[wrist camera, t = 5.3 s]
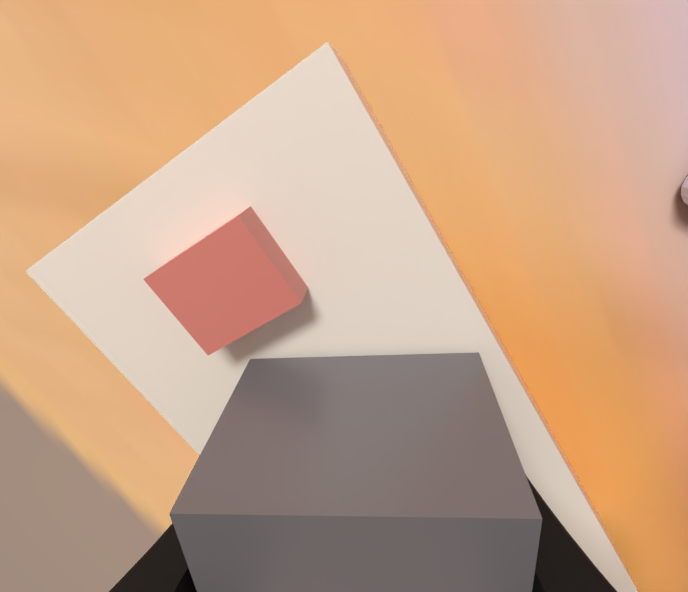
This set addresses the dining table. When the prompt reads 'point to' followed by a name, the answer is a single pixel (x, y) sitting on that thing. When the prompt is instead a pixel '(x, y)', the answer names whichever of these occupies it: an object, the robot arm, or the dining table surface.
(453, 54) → the dining table surface
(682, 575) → the dining table surface
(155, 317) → the socket strip
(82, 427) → the dining table surface
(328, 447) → the plug
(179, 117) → the dining table surface
